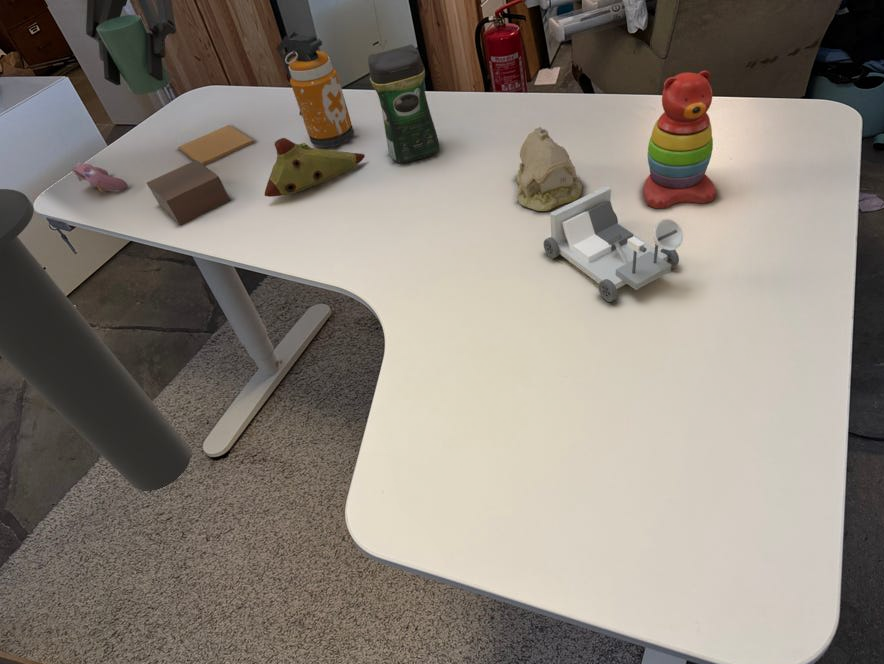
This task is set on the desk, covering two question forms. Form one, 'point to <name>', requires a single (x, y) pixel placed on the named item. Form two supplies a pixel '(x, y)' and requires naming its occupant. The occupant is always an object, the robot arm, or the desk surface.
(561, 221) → the toy car
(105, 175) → the pink animal figurine
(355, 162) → the ocarina
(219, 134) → the cork mat
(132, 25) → the green cylinder
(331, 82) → the canister
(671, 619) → the desk surface
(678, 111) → the stacking bear
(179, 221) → the riser
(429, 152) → the coffee jar
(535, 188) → the ceramic model
